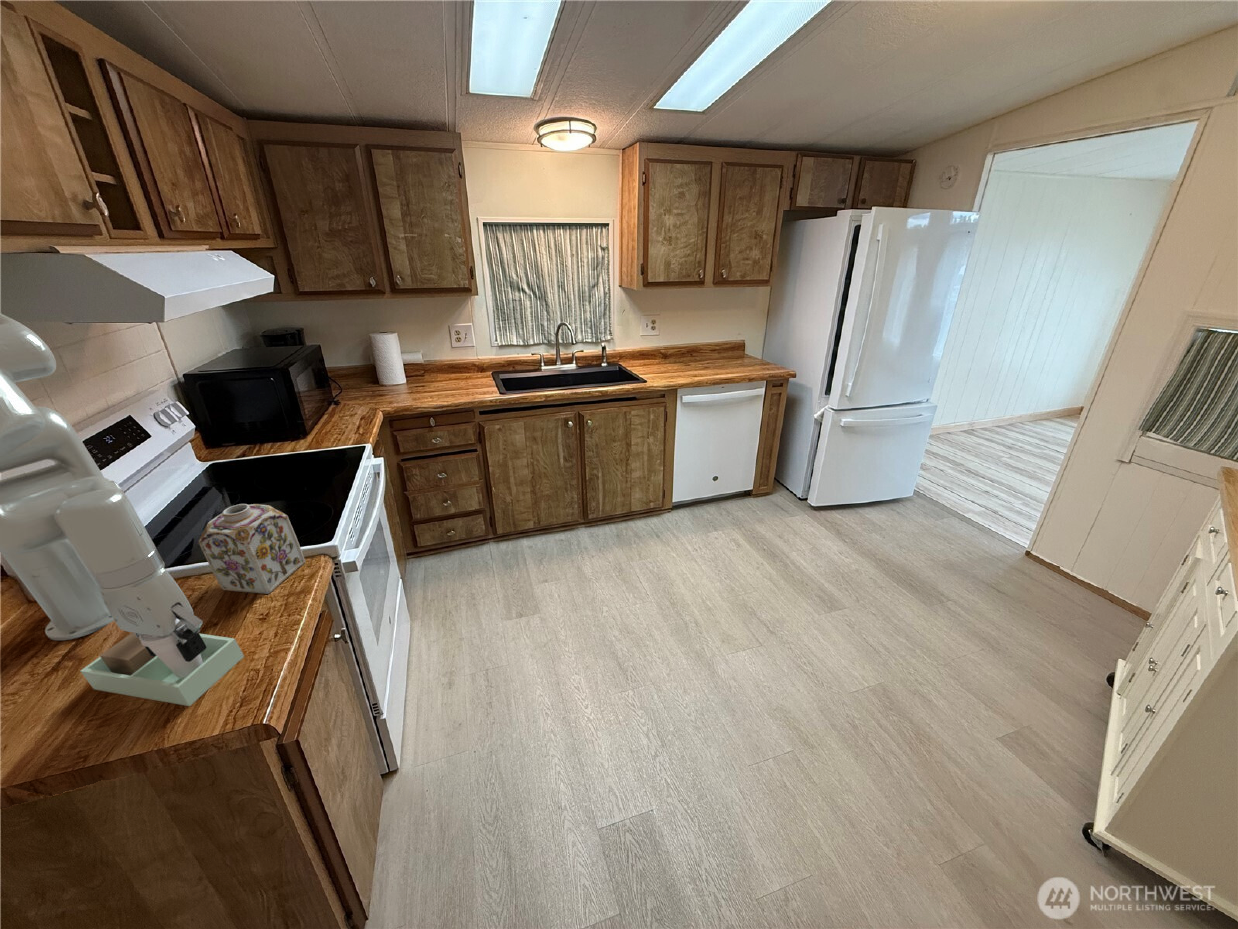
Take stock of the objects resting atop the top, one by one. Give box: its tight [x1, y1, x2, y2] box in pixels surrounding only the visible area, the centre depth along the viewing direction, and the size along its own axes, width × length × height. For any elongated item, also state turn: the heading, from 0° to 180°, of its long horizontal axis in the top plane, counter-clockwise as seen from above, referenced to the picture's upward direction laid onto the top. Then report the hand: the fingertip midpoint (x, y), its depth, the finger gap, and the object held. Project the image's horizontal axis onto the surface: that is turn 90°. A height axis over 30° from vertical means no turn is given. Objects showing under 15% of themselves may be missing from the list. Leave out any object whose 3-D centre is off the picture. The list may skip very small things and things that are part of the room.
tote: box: [80, 633, 245, 707], centre depth 83 cm, size 20×10×5 cm, turn 80°
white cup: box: [139, 619, 203, 678], centre depth 79 cm, size 6×6×14 cm
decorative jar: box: [198, 503, 306, 595], centre depth 104 cm, size 12×12×18 cm
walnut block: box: [99, 632, 155, 676], centre depth 83 cm, size 6×6×6 cm
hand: (179, 651), depth 80 cm, fingers closed on white cup, 6 cm apart
